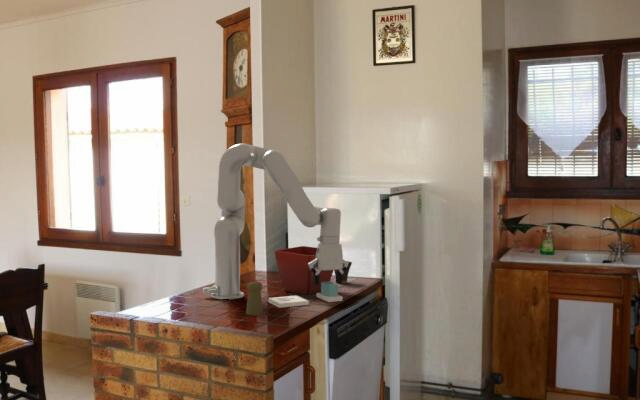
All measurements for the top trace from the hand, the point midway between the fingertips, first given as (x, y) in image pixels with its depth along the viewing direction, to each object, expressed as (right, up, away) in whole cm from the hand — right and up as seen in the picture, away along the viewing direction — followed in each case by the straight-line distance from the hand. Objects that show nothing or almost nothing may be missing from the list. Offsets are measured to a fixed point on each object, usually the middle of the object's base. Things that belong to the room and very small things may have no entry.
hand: (327, 284), depth 226 cm
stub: (+1, -6, 0) cm, 6 cm away
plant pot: (-9, -5, +16) cm, 19 cm away
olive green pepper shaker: (-26, -7, -23) cm, 35 cm away
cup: (+7, -4, +34) cm, 35 cm away
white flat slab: (-15, -6, -8) cm, 18 cm away
